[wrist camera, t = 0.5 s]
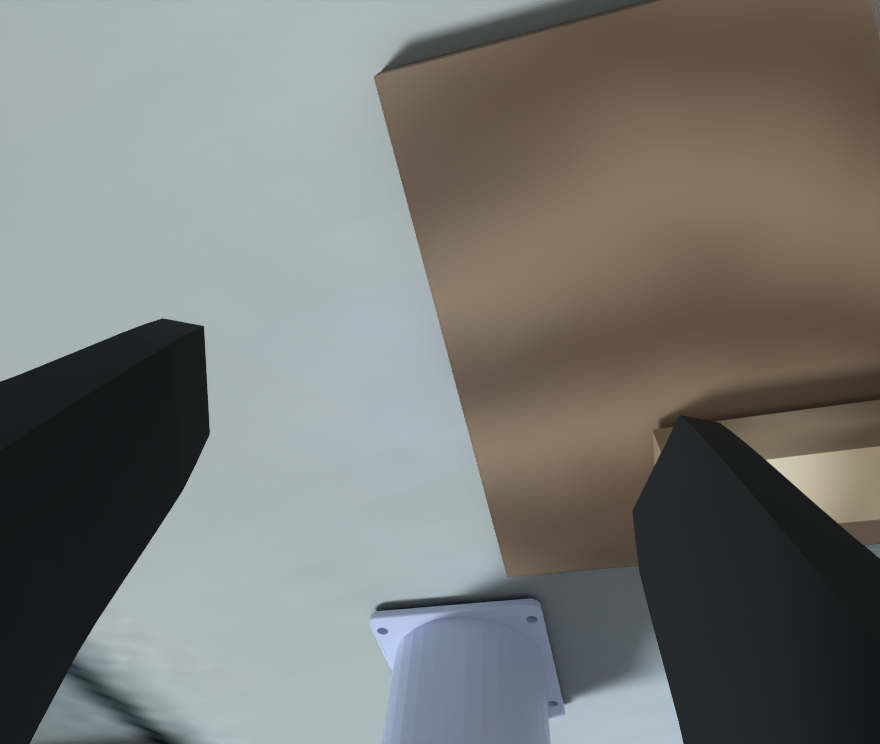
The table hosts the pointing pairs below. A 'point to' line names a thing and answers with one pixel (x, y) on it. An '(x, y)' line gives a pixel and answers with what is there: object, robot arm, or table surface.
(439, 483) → the table surface
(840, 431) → the pivot link
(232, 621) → the table surface
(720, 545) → the robot arm
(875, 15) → the keeper
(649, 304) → the walnut board
